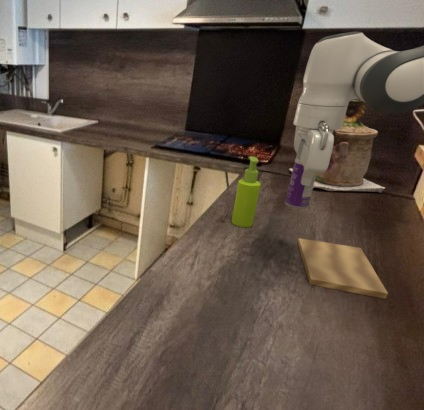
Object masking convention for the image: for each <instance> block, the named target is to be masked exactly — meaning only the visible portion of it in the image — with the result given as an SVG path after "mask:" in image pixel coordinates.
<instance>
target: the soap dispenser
mask: <svg viewBox="0 0 424 410" xmlns="http://www.w3.org/2000/svg"><path fill="white" fill-rule="evenodd" d="M247 157H248V159H249V166H248V168H246V169H245V171H244V176H243V178H241V179H239V180H238V181H237V182H238V183H237V188H236V194H235V199H234V205H233V210H232V217H231V222H230V223H231V224H233V225H234V226H236V227H240V228H251V227H252V226H253V224H254V219H255V214H256V209H257V204H258V201H259V200H258V199H259V196H260V191H261V185H262V183H261V181H258V176H259V170H258V169H257V164H259V159H258V157H257V156H247Z"/></svg>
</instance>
